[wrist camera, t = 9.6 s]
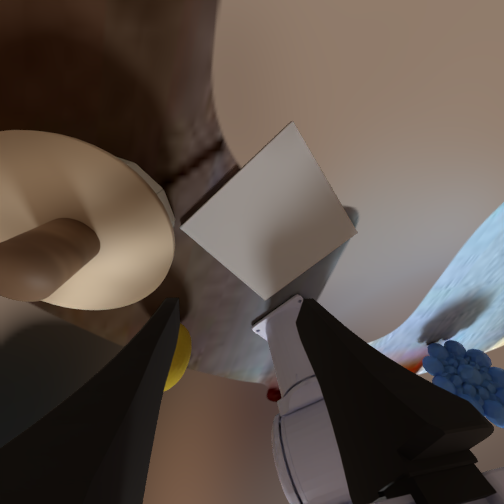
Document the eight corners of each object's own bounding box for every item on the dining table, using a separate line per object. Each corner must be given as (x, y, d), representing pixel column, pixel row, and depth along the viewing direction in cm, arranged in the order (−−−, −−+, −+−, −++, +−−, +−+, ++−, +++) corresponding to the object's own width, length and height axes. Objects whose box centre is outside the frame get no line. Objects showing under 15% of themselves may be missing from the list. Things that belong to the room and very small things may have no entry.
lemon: (146, 304, 22) (112, 377, 15) (196, 306, 23) (186, 374, 16) (148, 337, 24) (119, 412, 17) (193, 337, 26) (183, 408, 19)
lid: (209, 237, 14) (205, 273, 10) (113, 324, 17) (78, 381, 13) (21, 69, 9) (-147, 3, 5) (-79, 233, 12) (-246, 281, 7)
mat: (354, 230, 21) (357, 232, 21) (264, 297, 24) (265, 300, 24) (290, 121, 16) (292, 120, 15) (181, 225, 18) (180, 227, 18)
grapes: (397, 365, 38) (465, 448, 27) (404, 343, 34) (485, 429, 24) (452, 349, 38) (541, 426, 28) (465, 327, 35) (571, 404, 24)
